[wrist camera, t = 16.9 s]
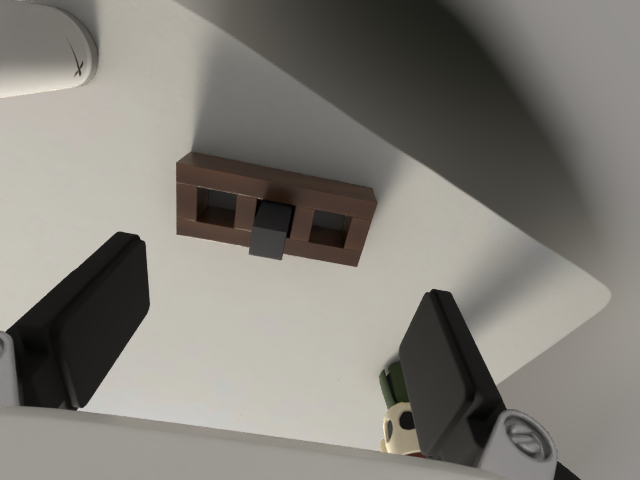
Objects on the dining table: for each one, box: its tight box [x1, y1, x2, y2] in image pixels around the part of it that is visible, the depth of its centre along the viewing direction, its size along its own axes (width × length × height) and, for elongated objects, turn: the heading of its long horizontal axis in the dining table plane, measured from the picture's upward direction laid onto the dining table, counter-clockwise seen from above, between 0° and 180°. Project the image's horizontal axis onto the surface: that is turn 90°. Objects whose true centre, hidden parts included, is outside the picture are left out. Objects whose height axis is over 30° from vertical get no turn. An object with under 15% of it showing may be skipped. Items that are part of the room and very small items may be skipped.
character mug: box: [379, 363, 426, 459], centre depth 45 cm, size 11×7×13 cm, turn 137°
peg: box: [249, 199, 293, 260], centre depth 33 cm, size 3×3×9 cm
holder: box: [176, 151, 377, 267], centre depth 36 cm, size 8×19×4 cm, turn 79°
